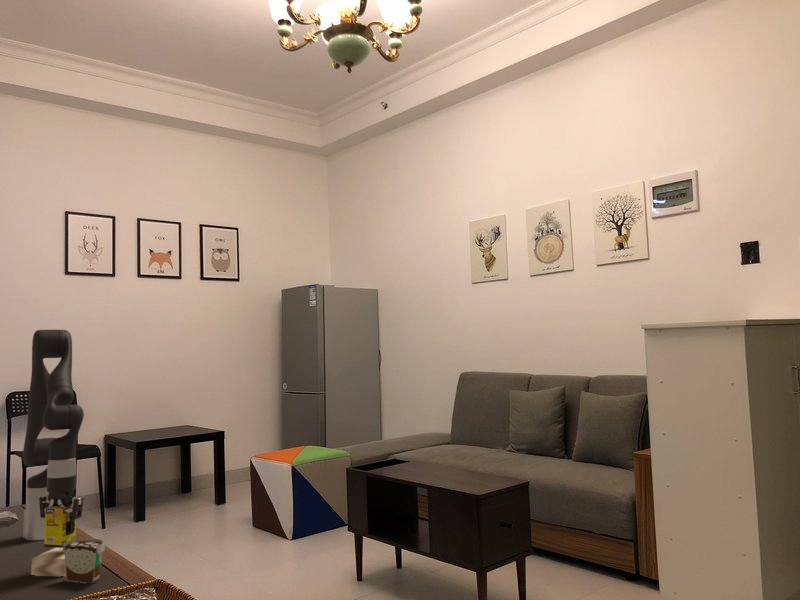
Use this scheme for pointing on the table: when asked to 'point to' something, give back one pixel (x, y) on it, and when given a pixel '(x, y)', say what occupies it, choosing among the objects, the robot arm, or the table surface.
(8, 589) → the table surface
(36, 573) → the birch block
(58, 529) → the supplement box
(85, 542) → the food container
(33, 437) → the robot arm
